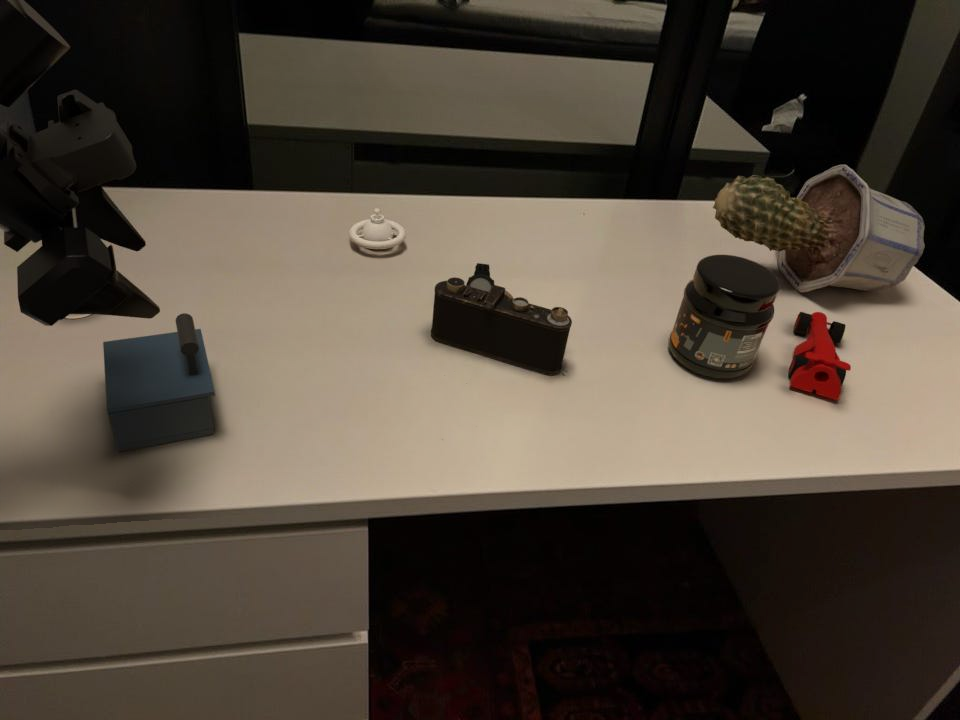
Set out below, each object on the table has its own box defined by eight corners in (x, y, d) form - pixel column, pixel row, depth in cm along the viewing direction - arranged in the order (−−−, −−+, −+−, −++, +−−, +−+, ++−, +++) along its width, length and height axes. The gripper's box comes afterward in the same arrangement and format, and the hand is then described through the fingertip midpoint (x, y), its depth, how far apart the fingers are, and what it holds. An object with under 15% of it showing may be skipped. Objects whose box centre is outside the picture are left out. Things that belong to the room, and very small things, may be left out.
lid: (201, 332, 77) (195, 296, 74) (215, 395, 70) (210, 357, 67) (104, 345, 74) (94, 308, 71) (107, 413, 66) (97, 374, 63)
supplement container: (678, 323, 98) (705, 242, 91) (757, 351, 95) (791, 270, 87) (656, 362, 90) (682, 278, 83) (741, 394, 87) (777, 309, 80)
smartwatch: (458, 303, 96) (462, 270, 93) (475, 286, 100) (479, 253, 97) (487, 313, 95) (491, 280, 92) (503, 295, 99) (507, 263, 96)
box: (200, 369, 80) (195, 333, 77) (214, 434, 72) (208, 397, 69) (113, 383, 76) (104, 346, 74) (117, 452, 69) (107, 414, 66)
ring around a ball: (399, 261, 102) (410, 235, 109) (400, 224, 99) (410, 199, 105) (343, 255, 103) (356, 229, 109) (341, 217, 99) (355, 193, 106)
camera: (570, 350, 90) (583, 295, 85) (556, 380, 85) (568, 323, 80) (445, 313, 94) (451, 258, 89) (425, 340, 88) (429, 283, 84)
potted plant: (892, 170, 112) (730, 112, 102) (966, 231, 98) (789, 171, 89) (821, 264, 122) (668, 220, 112) (880, 331, 109) (711, 287, 99)
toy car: (838, 330, 101) (853, 299, 98) (837, 404, 87) (855, 371, 84) (793, 317, 102) (807, 287, 99) (786, 388, 89) (801, 355, 86)
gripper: (56, 145, 42) (245, 288, 54) (44, 22, 54) (202, 162, 66) (-81, 263, 44) (134, 377, 56) (-63, 118, 55) (111, 238, 67)
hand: (148, 278), depth 61 cm, fingers open, 9 cm apart
